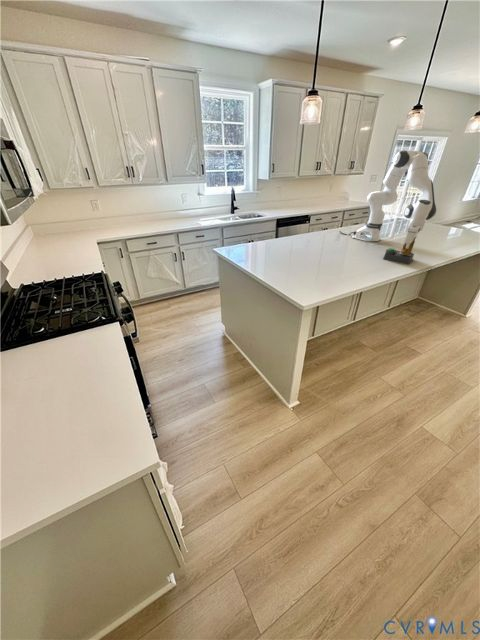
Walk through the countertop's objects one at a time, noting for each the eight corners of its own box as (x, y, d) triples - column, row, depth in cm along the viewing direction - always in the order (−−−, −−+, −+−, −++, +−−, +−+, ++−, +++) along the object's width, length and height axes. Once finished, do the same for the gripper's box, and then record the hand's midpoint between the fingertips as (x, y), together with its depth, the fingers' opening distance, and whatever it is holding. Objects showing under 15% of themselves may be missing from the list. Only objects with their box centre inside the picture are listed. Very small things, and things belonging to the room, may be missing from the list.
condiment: (398, 253, 182) (404, 236, 175) (401, 250, 187) (407, 234, 181) (410, 256, 178) (416, 238, 171) (412, 252, 183) (419, 236, 177)
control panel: (382, 258, 187) (385, 250, 184) (387, 254, 195) (390, 246, 192) (408, 264, 178) (411, 256, 174) (412, 259, 186) (415, 251, 183)
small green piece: (387, 251, 184) (388, 248, 183) (389, 249, 186) (389, 247, 185) (393, 252, 182) (393, 249, 181) (394, 251, 184) (395, 248, 183)
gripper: (413, 223, 180) (406, 242, 188) (406, 228, 167) (399, 249, 175) (424, 224, 177) (416, 244, 184) (417, 230, 164) (409, 251, 171)
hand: (408, 247), depth 179 cm, fingers closed on condiment, 6 cm apart
